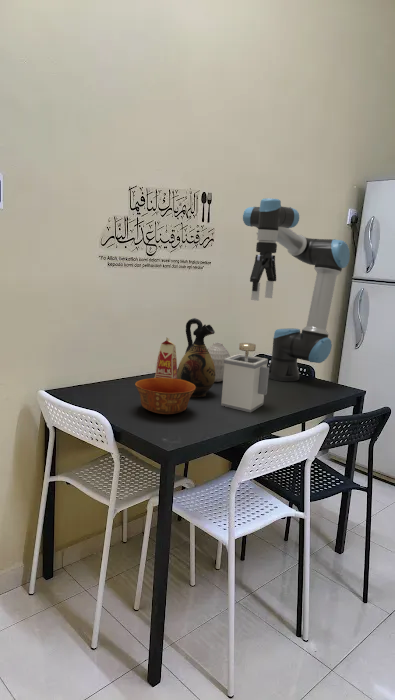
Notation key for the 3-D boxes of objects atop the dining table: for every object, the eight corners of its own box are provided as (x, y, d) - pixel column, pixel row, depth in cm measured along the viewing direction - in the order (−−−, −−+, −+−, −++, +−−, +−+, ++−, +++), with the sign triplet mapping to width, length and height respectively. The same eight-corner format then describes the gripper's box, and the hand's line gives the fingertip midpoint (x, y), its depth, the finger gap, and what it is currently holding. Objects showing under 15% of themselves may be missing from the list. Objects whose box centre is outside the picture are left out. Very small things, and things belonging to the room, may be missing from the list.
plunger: (236, 394, 201) (241, 340, 197) (259, 399, 197) (264, 344, 193) (226, 400, 193) (230, 344, 189) (249, 405, 189) (254, 348, 184)
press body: (234, 398, 204) (238, 353, 200) (270, 406, 197) (275, 360, 193) (220, 405, 193) (224, 358, 189) (258, 414, 186) (262, 365, 182)
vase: (213, 385, 221) (216, 346, 217) (195, 378, 230) (197, 341, 227) (235, 381, 229) (238, 344, 225) (216, 374, 238) (219, 339, 235)
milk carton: (174, 386, 215) (176, 339, 211) (152, 384, 216) (154, 337, 212) (178, 381, 223) (181, 335, 219) (157, 378, 225) (159, 333, 221)
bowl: (150, 398, 196) (151, 373, 194) (202, 408, 189) (204, 382, 187) (123, 414, 177) (124, 386, 175) (180, 425, 170) (181, 396, 168)
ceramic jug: (221, 393, 209) (226, 320, 203) (201, 402, 196) (207, 324, 190) (185, 385, 217) (189, 314, 211) (164, 393, 204) (168, 318, 198)
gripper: (269, 242, 204) (265, 296, 208) (243, 240, 183) (239, 300, 187) (287, 243, 201) (282, 298, 205) (263, 241, 179) (258, 302, 184)
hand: (261, 299), depth 196 cm, fingers open, 13 cm apart
